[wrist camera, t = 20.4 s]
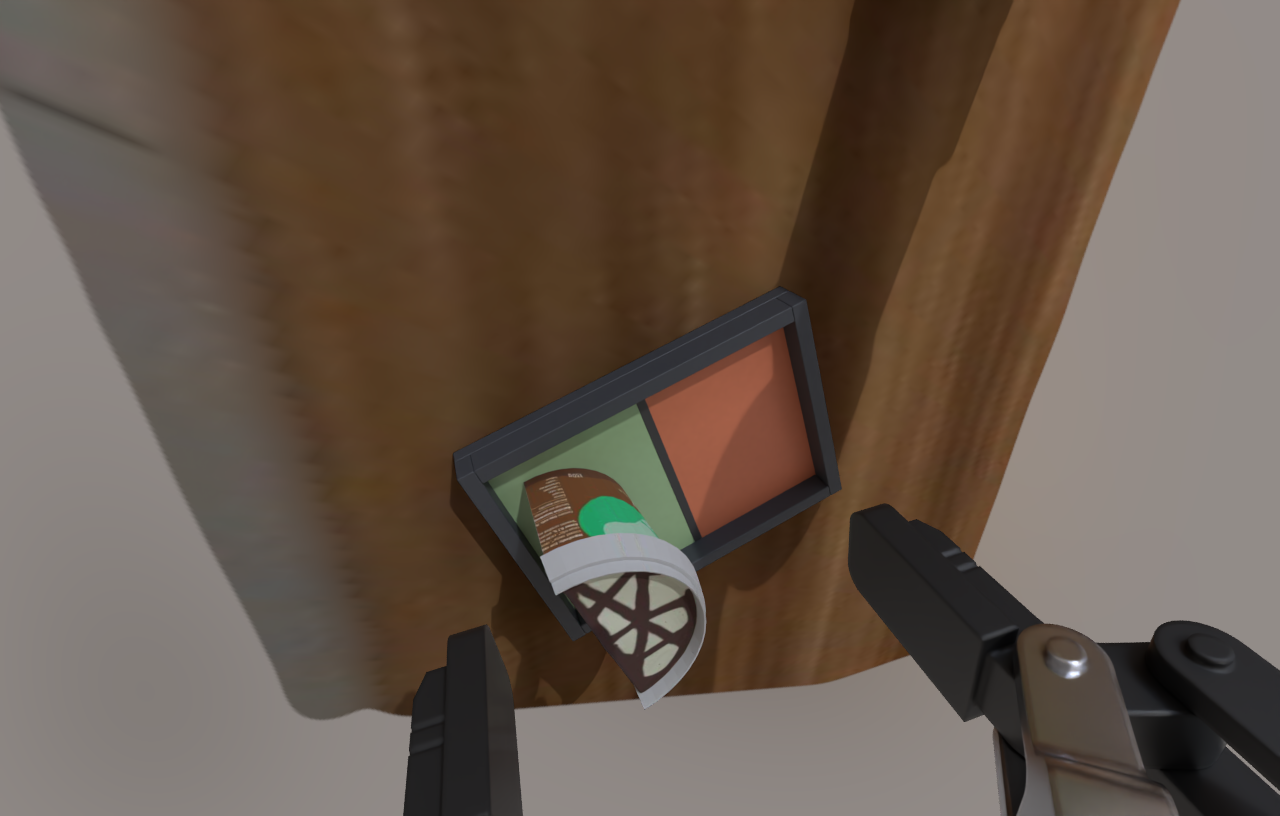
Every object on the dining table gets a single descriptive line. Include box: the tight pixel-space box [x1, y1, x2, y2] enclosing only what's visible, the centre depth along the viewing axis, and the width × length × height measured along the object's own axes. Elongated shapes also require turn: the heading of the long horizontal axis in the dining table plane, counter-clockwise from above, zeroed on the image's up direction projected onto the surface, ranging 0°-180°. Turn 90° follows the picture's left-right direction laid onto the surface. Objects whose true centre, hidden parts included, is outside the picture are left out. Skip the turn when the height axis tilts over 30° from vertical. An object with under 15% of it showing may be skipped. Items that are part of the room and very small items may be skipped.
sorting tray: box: [453, 287, 842, 641], centre depth 38 cm, size 22×16×3 cm
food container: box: [523, 468, 706, 710], centre depth 33 cm, size 12×6×10 cm, turn 22°
